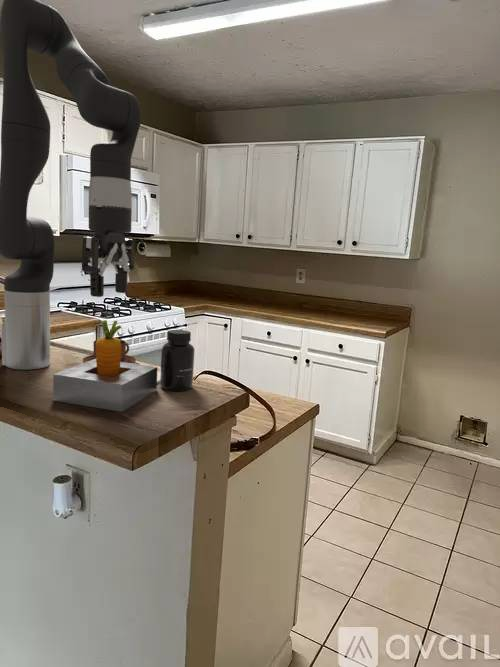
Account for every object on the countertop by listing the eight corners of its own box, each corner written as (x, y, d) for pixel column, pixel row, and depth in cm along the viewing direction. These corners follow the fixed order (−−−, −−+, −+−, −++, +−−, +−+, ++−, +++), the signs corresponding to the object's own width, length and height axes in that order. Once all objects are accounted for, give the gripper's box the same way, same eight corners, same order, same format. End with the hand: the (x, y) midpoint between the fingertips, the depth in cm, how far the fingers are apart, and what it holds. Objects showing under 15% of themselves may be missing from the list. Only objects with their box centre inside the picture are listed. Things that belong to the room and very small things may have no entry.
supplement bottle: (186, 393, 99) (189, 336, 97) (154, 389, 100) (156, 332, 98) (196, 384, 106) (199, 330, 103) (167, 381, 107) (169, 327, 105)
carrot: (113, 390, 98) (115, 316, 95) (125, 396, 94) (127, 320, 92) (90, 393, 95) (90, 317, 92) (101, 400, 91) (102, 322, 88)
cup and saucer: (98, 359, 122) (99, 335, 121) (143, 364, 120) (144, 340, 119) (72, 370, 111) (72, 343, 110) (121, 376, 108) (121, 349, 107)
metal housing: (53, 400, 90) (53, 374, 89) (95, 381, 103) (96, 358, 102) (121, 411, 86) (122, 384, 85) (156, 390, 100) (157, 366, 99)
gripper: (112, 208, 96) (111, 290, 99) (68, 200, 82) (68, 296, 85) (147, 209, 94) (145, 293, 97) (107, 202, 80) (107, 299, 83)
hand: (109, 294), depth 91 cm, fingers open, 8 cm apart
